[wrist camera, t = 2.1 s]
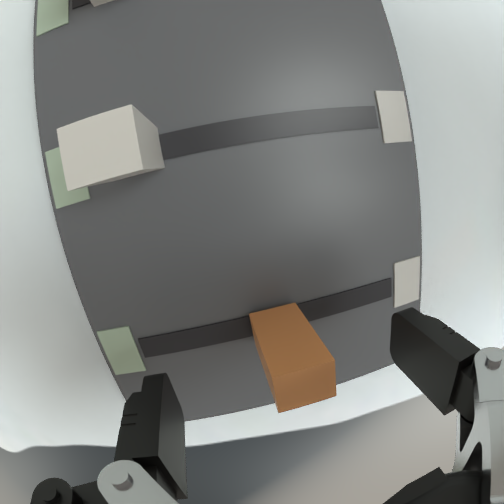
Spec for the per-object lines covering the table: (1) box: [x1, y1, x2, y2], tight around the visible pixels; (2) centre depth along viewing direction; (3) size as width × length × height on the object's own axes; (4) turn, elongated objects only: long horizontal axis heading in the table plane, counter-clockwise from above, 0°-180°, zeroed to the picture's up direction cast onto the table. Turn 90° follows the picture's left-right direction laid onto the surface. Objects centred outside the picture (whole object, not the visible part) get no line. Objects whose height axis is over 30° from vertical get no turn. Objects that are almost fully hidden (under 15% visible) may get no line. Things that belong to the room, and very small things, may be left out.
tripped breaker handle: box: [249, 303, 336, 413], centre depth 11 cm, size 2×2×4 cm
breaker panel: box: [34, 0, 422, 421], centre depth 10 cm, size 16×26×7 cm, turn 10°
